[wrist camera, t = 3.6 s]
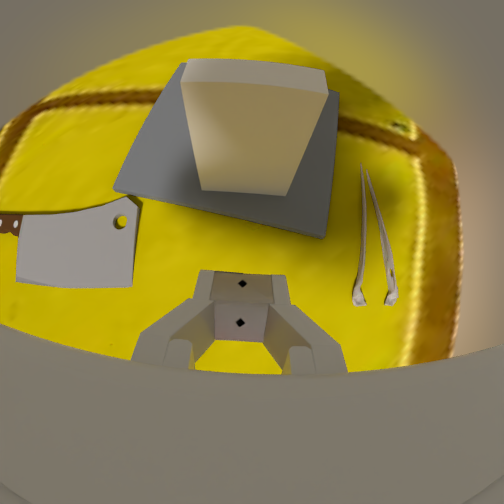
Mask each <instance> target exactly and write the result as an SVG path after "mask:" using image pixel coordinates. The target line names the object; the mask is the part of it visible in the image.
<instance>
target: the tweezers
mask: <svg viewBox="0 0 504 504" xmlns="http://www.w3.org/2000/svg"><path fill="white" fill-rule="evenodd" d="M360 164H361V163H360ZM366 172H367V169H366ZM367 179H368V184H369V187H370V192H371V195H372V199H373V203H374V207H375V210H376V214H377V218H378V223H379V228H380V233H381V244H382V251H383V257H384V264H385V269H386V277H387V283H388V291H389V292H388V296H387V298H386V301H385V303H384V305H389V306H392V305H393V304H394V303H395V302H396V298H398V287H397V285H396V278H395V272H394V264H393V256H392V251H391V247H390V244H389V240H388V237H387V233H386V230H385V227H384V223H383V219H382V216H381V213H380V210H379V207H378V204H377V200H376V197H375V193H374V190H373V187H372V184H371V181H370V177H369V175H368V172H367ZM361 182H362V238H361V252H360V260H359V268H358V275H357V280H356V285H355V287H354V291H353V296H352V298H353V305H355V306H366V305H367V304H366V302H365V301H364V297H363V294H362V292H361V290H360V286H361V284H362V281H363V272H364V266H365V245H366V197H365V185H364V178H363V171H362V165H361ZM390 269H391V270H392V272H393V277H391V275H390Z"/></svg>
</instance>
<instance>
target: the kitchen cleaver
mask: <svg viewBox="0 0 504 504" xmlns="http://www.w3.org/2000/svg"><path fill="white" fill-rule="evenodd" d="M139 213H140V209H139V208H138V206H136V205H135V204H134V203H133V202H132V201H131V200H129V199H128V198H127V197H124V198H121V199H119V200H116V201H113V202H111V203H108V204H106V205H103V206H100V207H95V208H91V209H86V210H82V211H78V212H72V213H63V214H54V215H21V214H0V233H8V232H11V233H12V234H13V235H15V236H18V238H19V239H18V250H17V267H16V282H22V283H29V284H36V285H44V286H52V287H61V288H116V287H124V288H125V287H132V280H133V267H134V256H135V246H136V237H137V228H138V220H139ZM120 216H126V217H127V224H126V226H125V227H124V228H123V229H120V230H118V229H116V226H115V222H116V220H117V219H118V218H119V217H120Z"/></svg>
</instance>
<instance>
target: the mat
mask: <svg viewBox="0 0 504 504" xmlns="http://www.w3.org/2000/svg"><path fill="white" fill-rule="evenodd" d="M186 64H187V63H181V64H180V65H179V67H178V68H177V70H176V71H175V73H174V74H173V76H172V77H171V79H170V80H169V82H168V83H167V85H166V87H165V88H164V90H163V91H162V93H161V95H160V96H159V98H158V99H157V101H156V103H155V105H154V106H153V108H152V110H151V111H150V113H149V115H148V117H147V118H146V120H145V122H144V124H143V126H142V128H141V129H140V131H139V133H138V135H137V137H136V139H135V141H134V143H133V145H132V147H131V149H130V151H129V153H128V155H127V157H126V159H125V161H124V163H123V165H122V168H121V170H120V172H119V174H118V177H117V179H116V181H115V183H114V186H113V189H114V191H115V192H119V193H124V194H129V195H134V196H139V197H144V198H148V199H153V200H158V201H163V202H168V203H172V204H177V205H182V206H186V207H191V208H195V209H200V210H204V211H209V212H213V213H217V214H222V215H226V216H231V217H235V218H239V219H243V220H248V221H252V222H256V223H260V224H264V225H268V226H272V227H276V228H280V229H284V230H288V231H292V232H296V233H300V234H304V235H308V236H312V237H316V238H320V239H323V238H324V237H325V234H326V227H327V220H328V213H329V205H330V197H331V189H332V180H333V171H334V161H335V150H336V138H337V125H338V109H339V93H338V92H335V91H332V90H329V89H328V93H329V95H328V97H327V100H326V102H325V105H324V107H323V109H322V112H321V114H320V116H319V119H318V121H317V124H316V126H315V128H314V131H313V133H312V135H311V138H310V140H309V143H308V145H307V147H306V150H305V152H304V154H303V157H302V159H301V161H300V164H299V166H298V168H297V171H296V173H295V176H294V178H293V180H292V183H291V185H290V187H289V190H288V192H287V194H286V196H277V195H266V194H253V193H239V192H223V191H205V190H202V189H201V184H200V180H199V175H198V171H197V166H196V161H195V156H194V152H193V147H192V142H191V137H190V132H189V127H188V122H187V117H186V111H185V106H184V101H183V95H182V90H181V84H180V81H181V78H182V75H183V73H184V70H185V67H186Z"/></svg>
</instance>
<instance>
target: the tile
mask: <svg viewBox="0 0 504 504" xmlns="http://www.w3.org/2000/svg"><path fill="white" fill-rule="evenodd" d="M180 84H181V90H182V95H183V101H184V106H185V111H186V117H187V122H188V127H189V132H190V137H191V142H192V147H193V152H194V156H195V161H196V166H197V171H198V175H199V180H200V184H201V189H202V190H205V191H223V192H239V193H253V194H266V195H277V196H286V194H287V192H288V190H289V187H290V185H291V183H292V180H293V178H294V176H295V173H296V171H297V168H298V166H299V164H300V161H301V159H302V157H303V154H304V152H305V150H306V147H307V145H308V143H309V140H310V138H311V135H312V133H313V131H314V128H315V126H316V124H317V121H318V119H319V116H320V114H321V112H322V109H323V107H324V105H325V102H326V100H327V97H328V95H329V93H328V87H327V82H326V77H325V72H324V70H320V69H314V68H309V67H303V66H297V65H290V64H282V63H274V62H265V61H253V60H238V59H188V62H187V64H186V67H185V70H184V73H183V75H182V78H181V81H180Z"/></svg>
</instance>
